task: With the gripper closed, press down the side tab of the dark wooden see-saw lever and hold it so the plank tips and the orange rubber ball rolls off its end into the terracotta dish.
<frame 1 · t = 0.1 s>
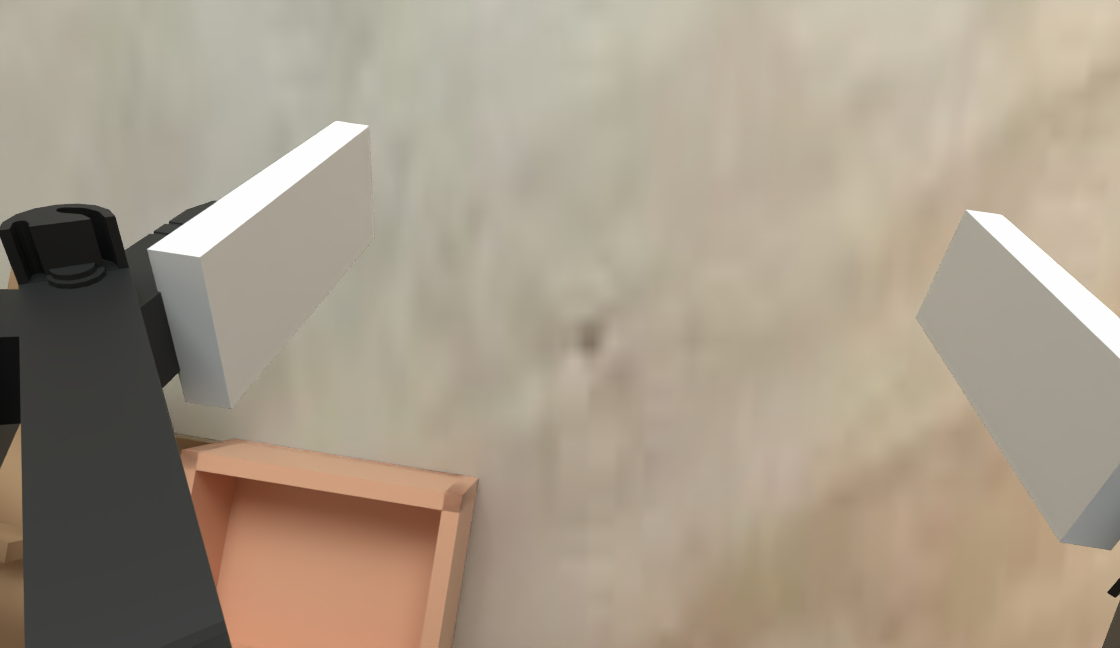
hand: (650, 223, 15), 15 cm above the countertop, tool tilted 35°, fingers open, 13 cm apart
dish: (338, 562, 30), on the countertop
lever stand: (5, 506, 31), on the countertop
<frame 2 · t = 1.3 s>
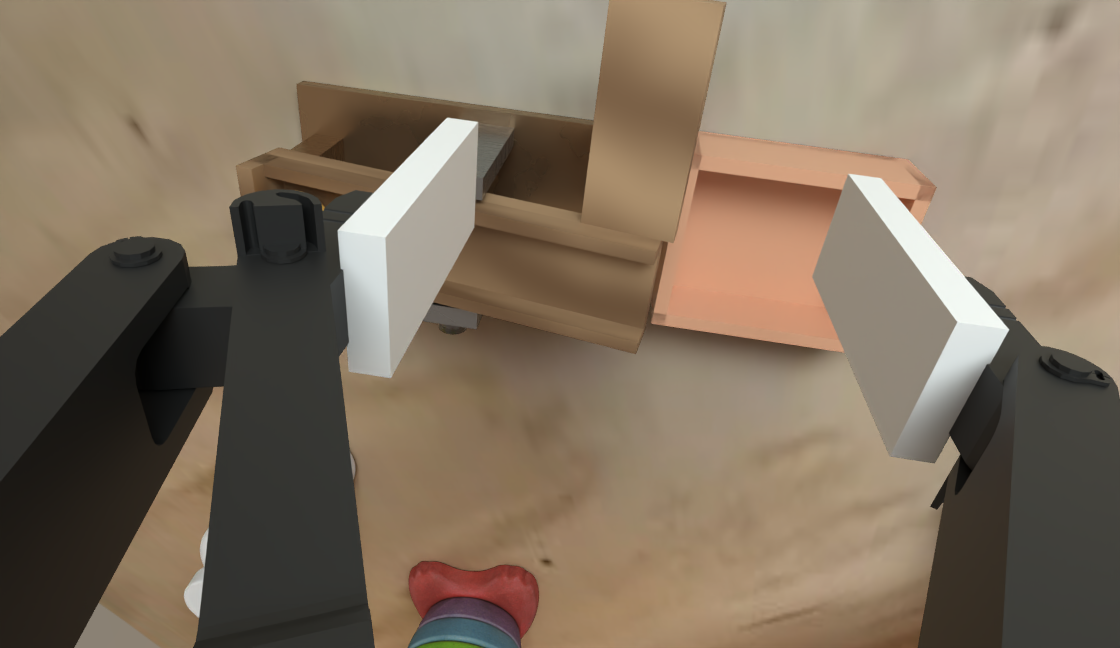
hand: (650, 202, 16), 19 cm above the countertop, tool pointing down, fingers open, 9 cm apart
supplement bottle: (316, 454, 50), on the countertop
stacking bear: (479, 598, 57), on the countertop
dish: (770, 228, 37), on the countertop
lever stand: (485, 188, 37), on the countertop
lever: (452, 154, 28), point 8 cm above the countertop, hinge at -10.4°, touching ball
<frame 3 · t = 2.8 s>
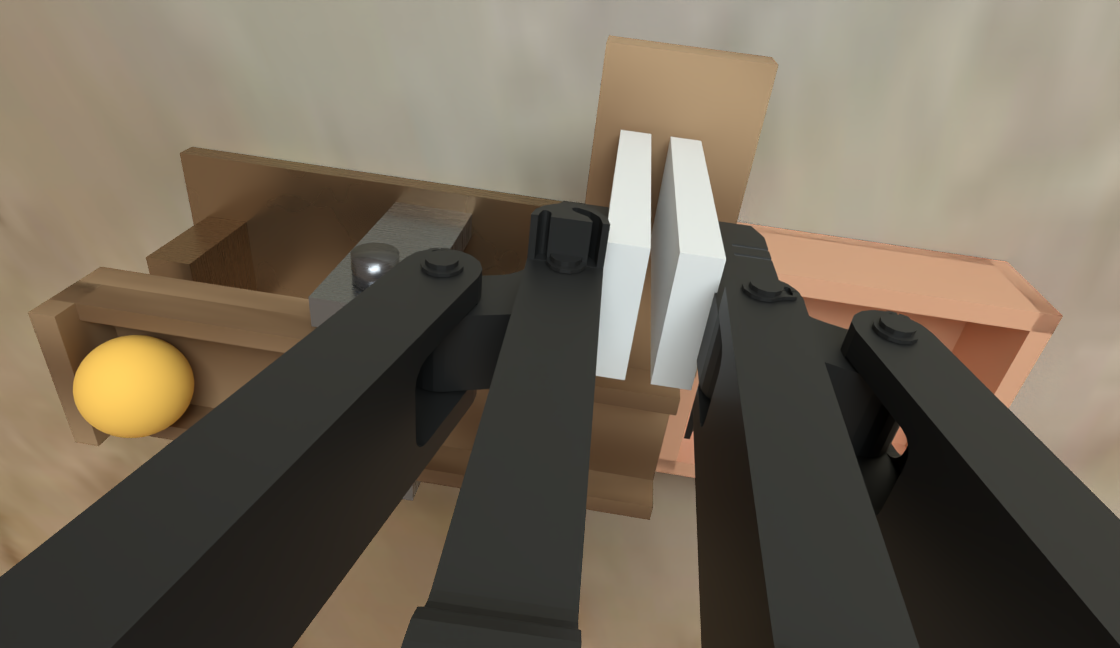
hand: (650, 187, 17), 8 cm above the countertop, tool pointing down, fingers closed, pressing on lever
ball: (136, 386, 21), point 9 cm above the countertop, touching lever
dish: (813, 342, 28), on the countertop
lever stand: (438, 284, 28), on the countertop
lever: (371, 278, 19), point 8 cm above the countertop, hinge at 0.3°, touching ball, gripper
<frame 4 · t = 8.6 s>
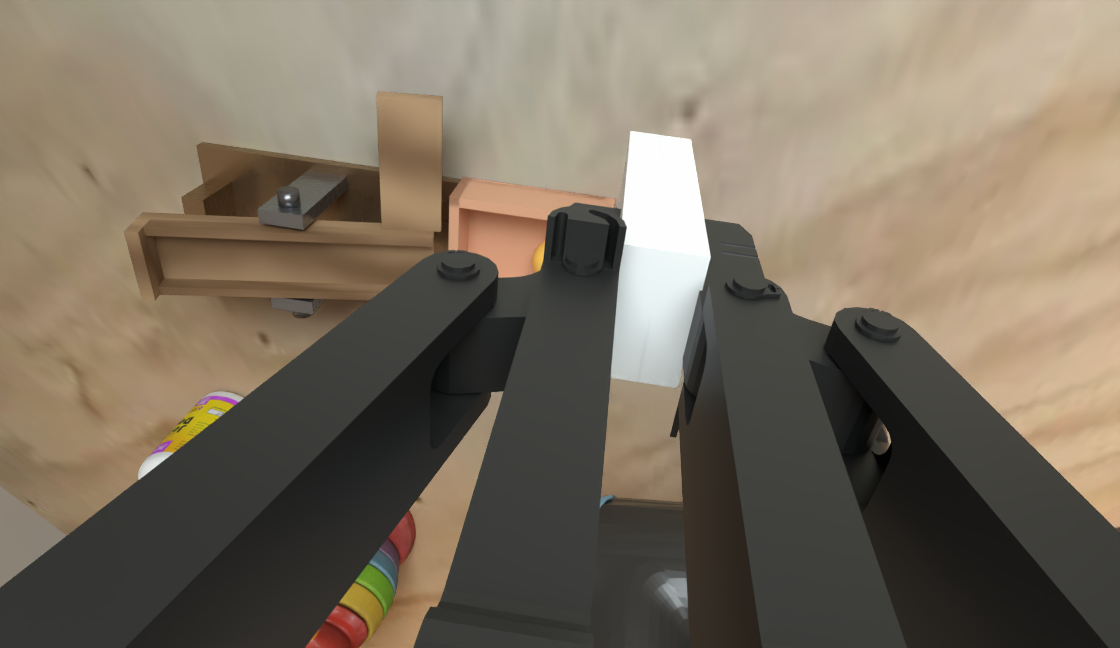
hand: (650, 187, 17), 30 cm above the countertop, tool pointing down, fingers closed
ball: (553, 261, 50), point 2 cm above the countertop, tilted 111°, touching dish
supplement bottle: (235, 414, 66), on the countertop
stacking bear: (371, 531, 73), on the countertop
dish: (533, 245, 52), on the countertop
lever stand: (335, 216, 53), on the countertop
lever: (289, 200, 44), point 8 cm above the countertop, hinge at 13.6°
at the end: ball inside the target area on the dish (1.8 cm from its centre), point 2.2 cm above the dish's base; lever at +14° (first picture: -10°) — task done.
